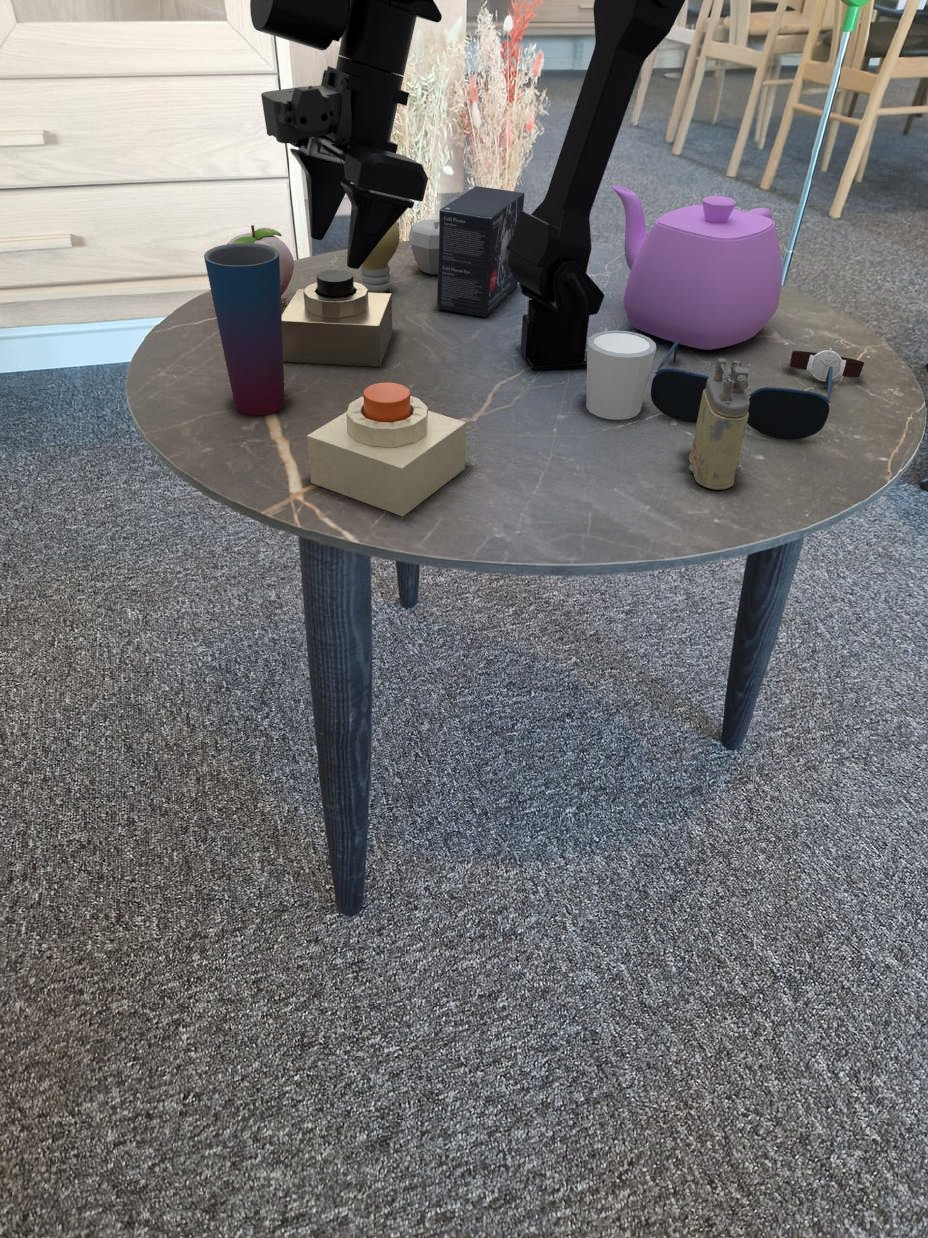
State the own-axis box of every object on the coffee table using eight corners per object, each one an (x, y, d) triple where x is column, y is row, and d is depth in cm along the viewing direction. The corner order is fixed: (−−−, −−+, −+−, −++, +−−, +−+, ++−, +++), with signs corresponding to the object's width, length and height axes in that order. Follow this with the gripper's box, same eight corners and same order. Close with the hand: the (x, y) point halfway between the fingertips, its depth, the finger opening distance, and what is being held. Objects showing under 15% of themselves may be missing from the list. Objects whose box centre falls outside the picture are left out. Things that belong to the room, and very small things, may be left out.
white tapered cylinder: (604, 427, 93) (613, 360, 88) (567, 400, 98) (573, 335, 93) (659, 414, 95) (671, 349, 91) (621, 388, 100) (630, 324, 96)
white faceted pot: (456, 283, 125) (457, 232, 121) (400, 277, 126) (399, 226, 122) (470, 264, 131) (471, 215, 127) (416, 258, 132) (416, 210, 128)
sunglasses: (645, 414, 95) (654, 366, 93) (668, 377, 107) (676, 333, 105) (819, 446, 91) (833, 396, 88) (823, 403, 103) (836, 358, 100)
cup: (280, 423, 92) (263, 268, 82) (215, 415, 93) (191, 262, 83) (302, 394, 97) (289, 245, 88) (241, 386, 98) (221, 239, 89)
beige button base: (392, 332, 111) (391, 277, 107) (380, 367, 103) (378, 309, 99) (301, 327, 111) (296, 272, 107) (282, 361, 103) (276, 303, 99)
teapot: (805, 322, 117) (839, 193, 107) (717, 369, 104) (746, 230, 95) (654, 276, 129) (672, 158, 119) (559, 315, 116) (570, 186, 107)
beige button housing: (377, 439, 90) (374, 375, 86) (465, 468, 86) (466, 403, 82) (310, 482, 83) (304, 416, 79) (402, 517, 79) (401, 448, 75)
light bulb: (342, 294, 120) (338, 212, 114) (365, 279, 125) (362, 200, 119) (387, 302, 118) (385, 219, 112) (408, 286, 123) (407, 206, 117)
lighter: (736, 492, 84) (761, 388, 77) (693, 490, 84) (715, 386, 77) (722, 453, 89) (744, 353, 83) (683, 451, 89) (702, 352, 83)
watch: (785, 377, 103) (793, 346, 101) (789, 361, 107) (797, 330, 105) (858, 389, 101) (868, 357, 99) (859, 372, 105) (869, 341, 103)
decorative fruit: (249, 292, 120) (239, 210, 114) (306, 301, 118) (299, 218, 112) (210, 316, 113) (197, 231, 107) (270, 326, 111) (261, 240, 105)
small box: (487, 319, 115) (491, 217, 107) (435, 310, 117) (436, 209, 109) (519, 285, 125) (525, 190, 117) (471, 278, 126) (474, 183, 119)
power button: (382, 399, 83) (381, 378, 81) (419, 411, 81) (419, 389, 80) (354, 416, 80) (353, 394, 79) (392, 429, 78) (392, 406, 77)
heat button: (356, 288, 105) (356, 270, 103) (350, 301, 102) (349, 282, 100) (321, 286, 105) (320, 268, 104) (314, 299, 102) (313, 280, 100)
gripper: (246, 24, 81) (220, 210, 89) (323, 55, 69) (285, 269, 76) (361, 59, 87) (327, 231, 95) (451, 94, 75) (404, 289, 82)
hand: (333, 252), depth 87 cm, fingers open, 9 cm apart
